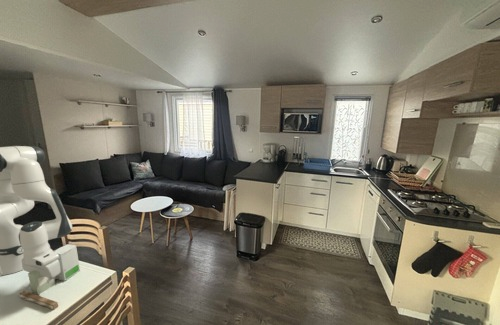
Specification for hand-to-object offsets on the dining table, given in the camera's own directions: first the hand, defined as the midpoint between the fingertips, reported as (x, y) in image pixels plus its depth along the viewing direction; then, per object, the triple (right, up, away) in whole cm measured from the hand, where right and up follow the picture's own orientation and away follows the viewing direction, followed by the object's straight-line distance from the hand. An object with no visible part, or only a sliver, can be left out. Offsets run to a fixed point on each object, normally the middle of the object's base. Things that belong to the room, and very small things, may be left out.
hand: (43, 280), depth 99 cm
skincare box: (+3, -3, +10) cm, 11 cm away
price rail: (+5, -6, -7) cm, 10 cm away
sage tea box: (0, -4, +1) cm, 4 cm away
